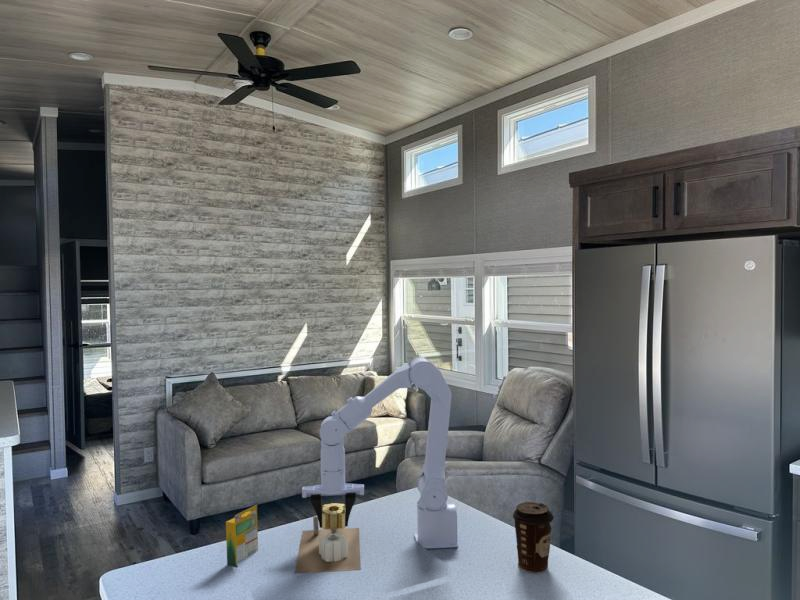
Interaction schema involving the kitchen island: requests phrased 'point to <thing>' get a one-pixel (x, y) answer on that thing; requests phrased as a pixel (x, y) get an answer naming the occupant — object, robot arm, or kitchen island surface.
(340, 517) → the brass gear
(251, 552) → the crayon box
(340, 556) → the nylon gear
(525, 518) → the coffee cup
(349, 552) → the gear board
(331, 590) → the kitchen island surface
